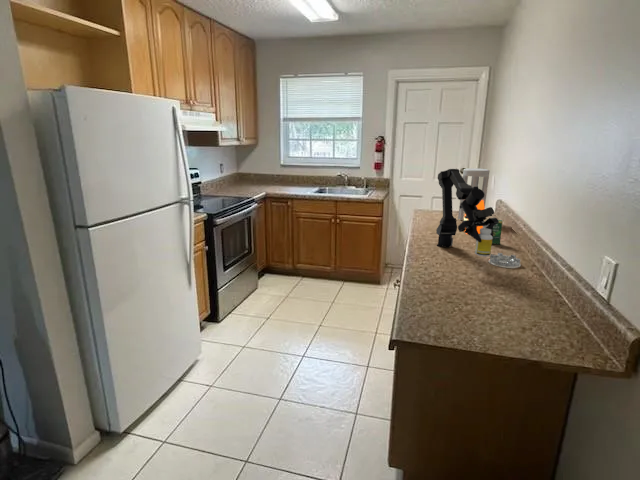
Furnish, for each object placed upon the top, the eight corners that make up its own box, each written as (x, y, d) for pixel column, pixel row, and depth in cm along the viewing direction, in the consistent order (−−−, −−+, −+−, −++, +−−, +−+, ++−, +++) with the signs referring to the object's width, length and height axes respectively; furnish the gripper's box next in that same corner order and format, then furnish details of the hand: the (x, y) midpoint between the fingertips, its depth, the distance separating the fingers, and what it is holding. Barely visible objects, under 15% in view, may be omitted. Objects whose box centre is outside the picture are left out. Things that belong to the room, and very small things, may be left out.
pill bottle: (491, 257, 169) (495, 231, 165) (475, 256, 170) (479, 230, 167) (488, 253, 175) (492, 228, 172) (473, 252, 176) (476, 227, 173)
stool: (453, 219, 269) (459, 168, 259) (472, 218, 273) (478, 168, 264) (467, 224, 254) (474, 170, 245) (487, 223, 259) (494, 170, 250)
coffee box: (483, 243, 212) (486, 219, 209) (483, 241, 215) (486, 218, 211) (499, 245, 209) (503, 221, 205) (499, 243, 212) (503, 220, 208)
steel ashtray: (485, 264, 177) (486, 258, 176) (491, 256, 188) (492, 250, 188) (518, 270, 170) (519, 263, 169) (522, 262, 181) (523, 255, 181)
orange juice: (481, 234, 230) (486, 201, 224) (466, 234, 230) (470, 200, 225) (477, 231, 237) (481, 198, 232) (462, 231, 238) (466, 198, 232)
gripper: (465, 202, 166) (481, 233, 159) (498, 199, 173) (515, 229, 166) (451, 216, 175) (465, 246, 168) (483, 213, 182) (498, 242, 175)
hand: (486, 241), depth 169 cm, fingers closed on pill bottle, 6 cm apart
